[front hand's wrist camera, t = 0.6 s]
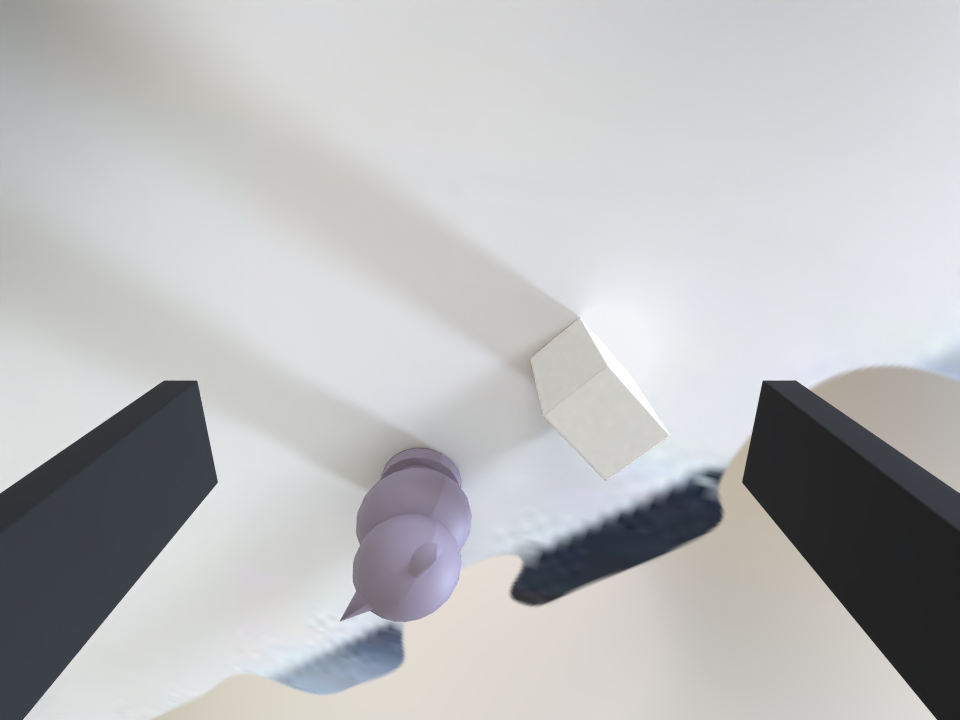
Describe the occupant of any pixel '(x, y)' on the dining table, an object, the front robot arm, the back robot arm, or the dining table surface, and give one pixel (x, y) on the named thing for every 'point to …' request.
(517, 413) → the dining table surface
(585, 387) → the white rectangular block
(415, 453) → the cat figurine
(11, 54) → the dining table surface
